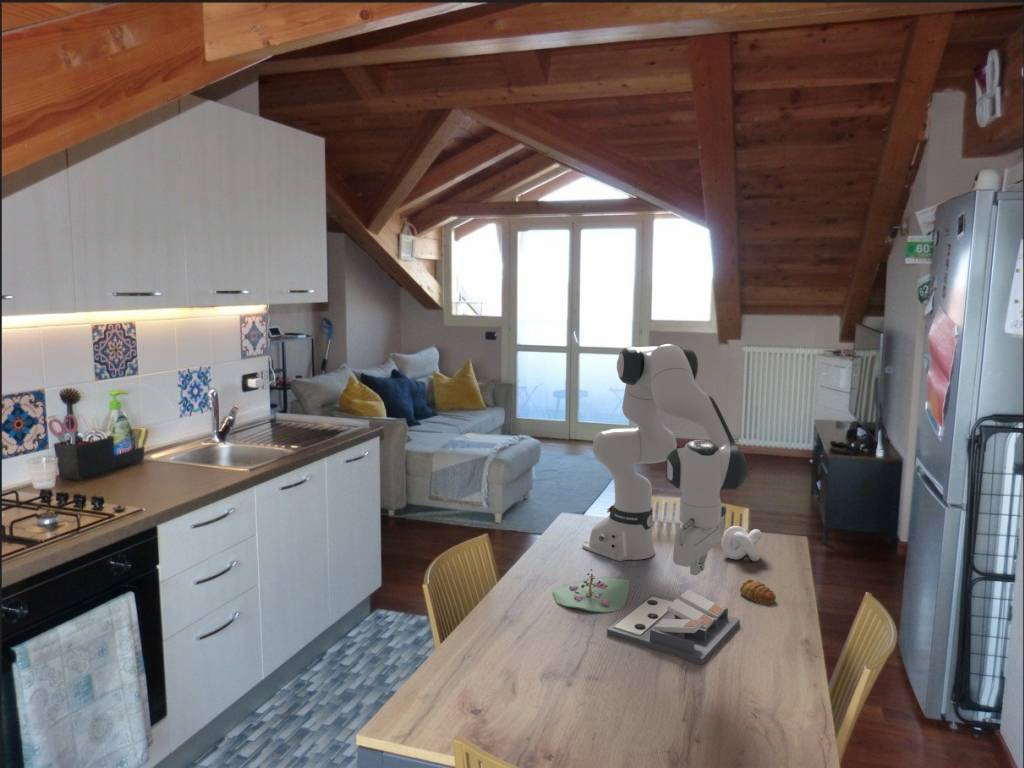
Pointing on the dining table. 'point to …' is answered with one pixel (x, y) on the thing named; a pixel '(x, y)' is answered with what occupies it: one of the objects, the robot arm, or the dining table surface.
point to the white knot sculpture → (740, 543)
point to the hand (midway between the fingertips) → (697, 572)
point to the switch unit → (682, 645)
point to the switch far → (701, 604)
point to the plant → (593, 594)
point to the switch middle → (689, 613)
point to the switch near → (679, 625)
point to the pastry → (757, 592)
